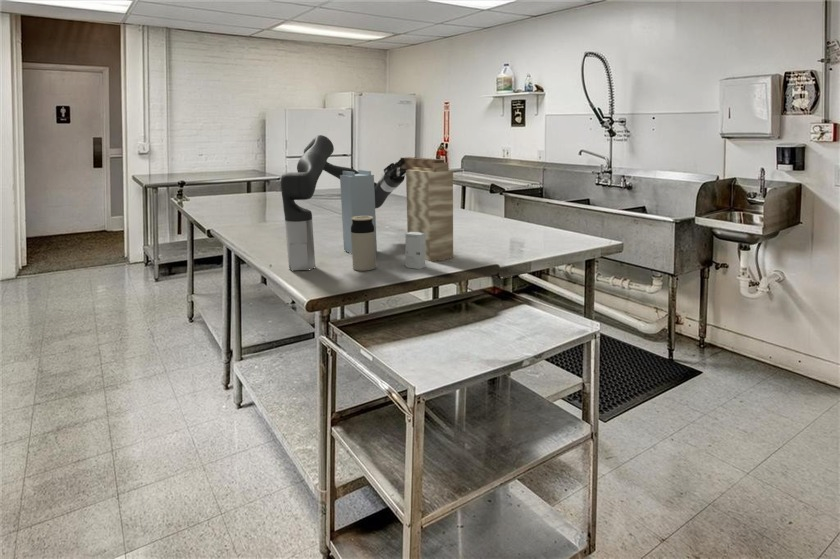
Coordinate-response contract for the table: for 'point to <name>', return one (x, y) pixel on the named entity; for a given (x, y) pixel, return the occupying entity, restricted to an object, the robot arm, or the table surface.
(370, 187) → the slate pedestal
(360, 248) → the travel mug
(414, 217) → the birch stand
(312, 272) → the table surface
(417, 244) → the skincare box
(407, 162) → the walnut rail
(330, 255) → the table surface
